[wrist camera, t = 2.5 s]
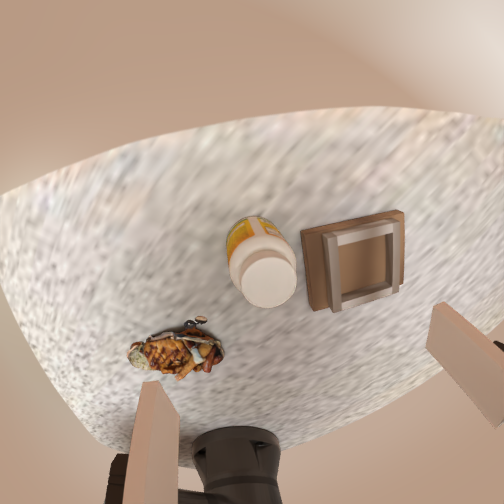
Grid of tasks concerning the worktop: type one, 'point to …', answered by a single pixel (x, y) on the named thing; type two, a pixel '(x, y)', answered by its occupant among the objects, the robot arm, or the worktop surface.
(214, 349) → the brown lumpy food piece
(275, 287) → the supplement bottle
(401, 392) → the worktop surface
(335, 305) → the socket board
